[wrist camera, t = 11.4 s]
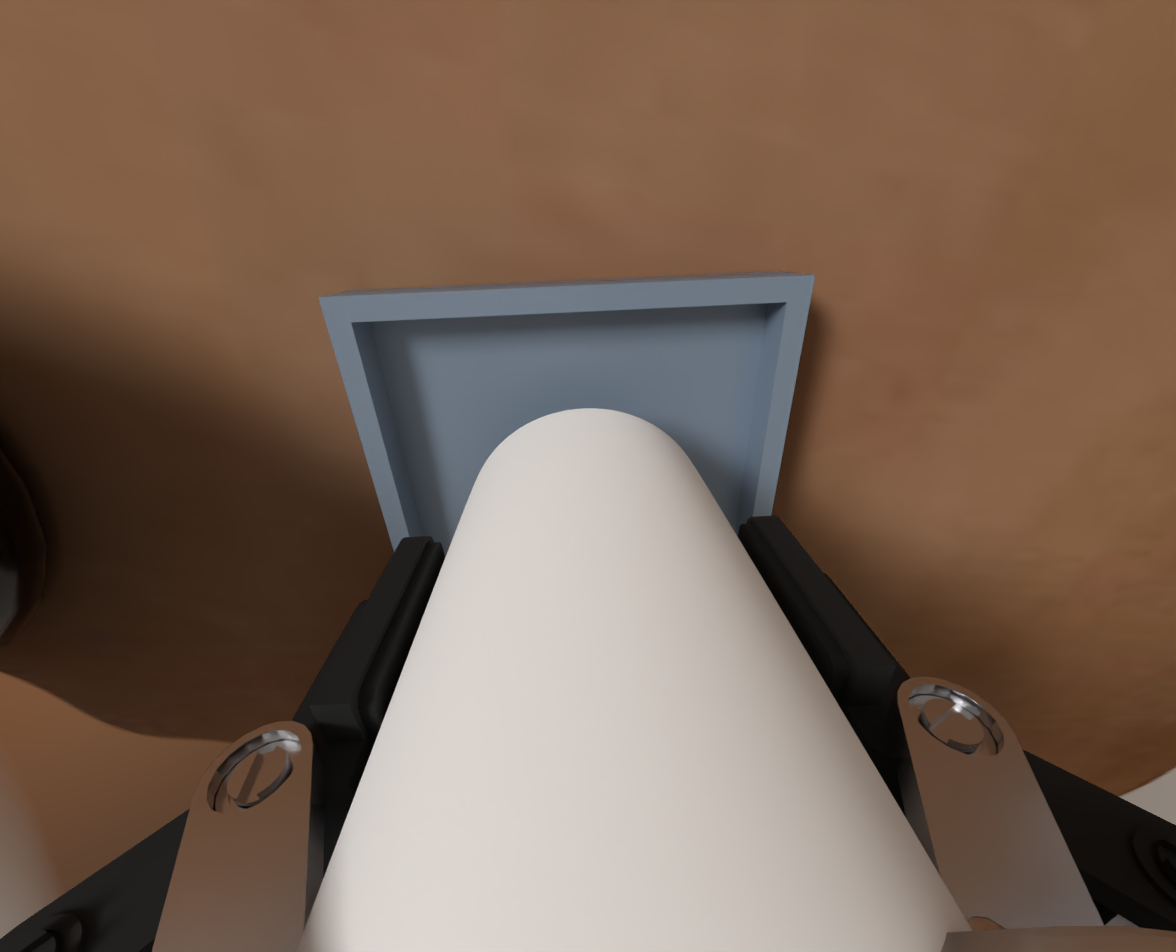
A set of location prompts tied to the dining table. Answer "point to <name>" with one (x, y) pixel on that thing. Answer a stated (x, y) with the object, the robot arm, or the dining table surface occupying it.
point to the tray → (568, 378)
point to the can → (616, 739)
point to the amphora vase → (18, 555)
